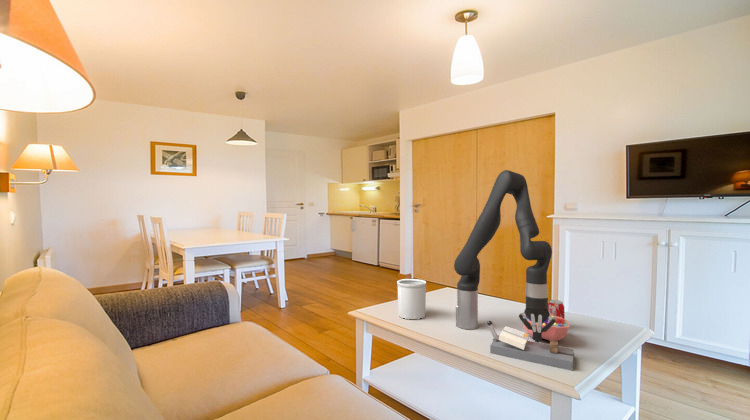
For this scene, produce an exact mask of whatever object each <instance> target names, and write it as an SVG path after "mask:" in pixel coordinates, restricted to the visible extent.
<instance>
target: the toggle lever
mask: <svg viewBox="0 0 750 420" xmlns="http://www.w3.org/2000/svg"><path fill="white" fill-rule="evenodd" d="M486 325H487V327H488V329H489V330H490V333H491V335H492V337H493V339H494V340H496V339H498V333H497V331H496V329H495V327H494V325H493V321H492V320H488V321H486Z"/></svg>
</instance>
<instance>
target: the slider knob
mask: <svg viewBox="0 0 750 420" xmlns="http://www.w3.org/2000/svg"><path fill="white" fill-rule="evenodd" d="M549 345H550V352H553V353H558V346H559V340H558V341H553V340H551V341H549Z"/></svg>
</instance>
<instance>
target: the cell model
mask: <svg viewBox="0 0 750 420" xmlns="http://www.w3.org/2000/svg"><path fill="white" fill-rule="evenodd" d="M550 316H552V317H553V318H556V322H555V323H554V324H553V325H552V326H551V327H550V328H549V329H548V330H547V331H546V332H542V339H544V340H546V341H548V342H550V341H551V340H553V341H558V342H559V341H560V340H562V339H563V338H565V337H566V335H567V333H568V331H569V329H570V327H571V325H570V323H569V321H568V320H567V319H565V318H564V319H563V318H561V317H559V316H554V315H550ZM526 319H527V320H528V322H529V323H530V324H531V325H532V322H531V321H530V320H529V318H528V317H527V316H526ZM548 319H549V318H547V319H546V320H545V322H544V323H542V327H544V326H545V325H546V324H547V323H548ZM521 322H522V321H521ZM536 326H537V331H538V323H537V322H536ZM522 327H523V329H524V330H525V332H526V333H527V334H529V337H530V336H531V337H532V338H533V331H532V330H529V329H527V327H526V326H525V325H524V323H523V322H522Z"/></svg>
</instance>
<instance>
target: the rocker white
mask: <svg viewBox="0 0 750 420" xmlns="http://www.w3.org/2000/svg"><path fill="white" fill-rule="evenodd" d="M502 331H504V332H507V333H509V334H512V335H515V336H517V337H520V338H522V339H525V340H527V341H529V338H530V335H529V334H528V333H527V332H525V331H521V330H518V329H515V328H512V327H509V326H506V325H505V326H504V328H503V329H502ZM526 343H527V342H526Z"/></svg>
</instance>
